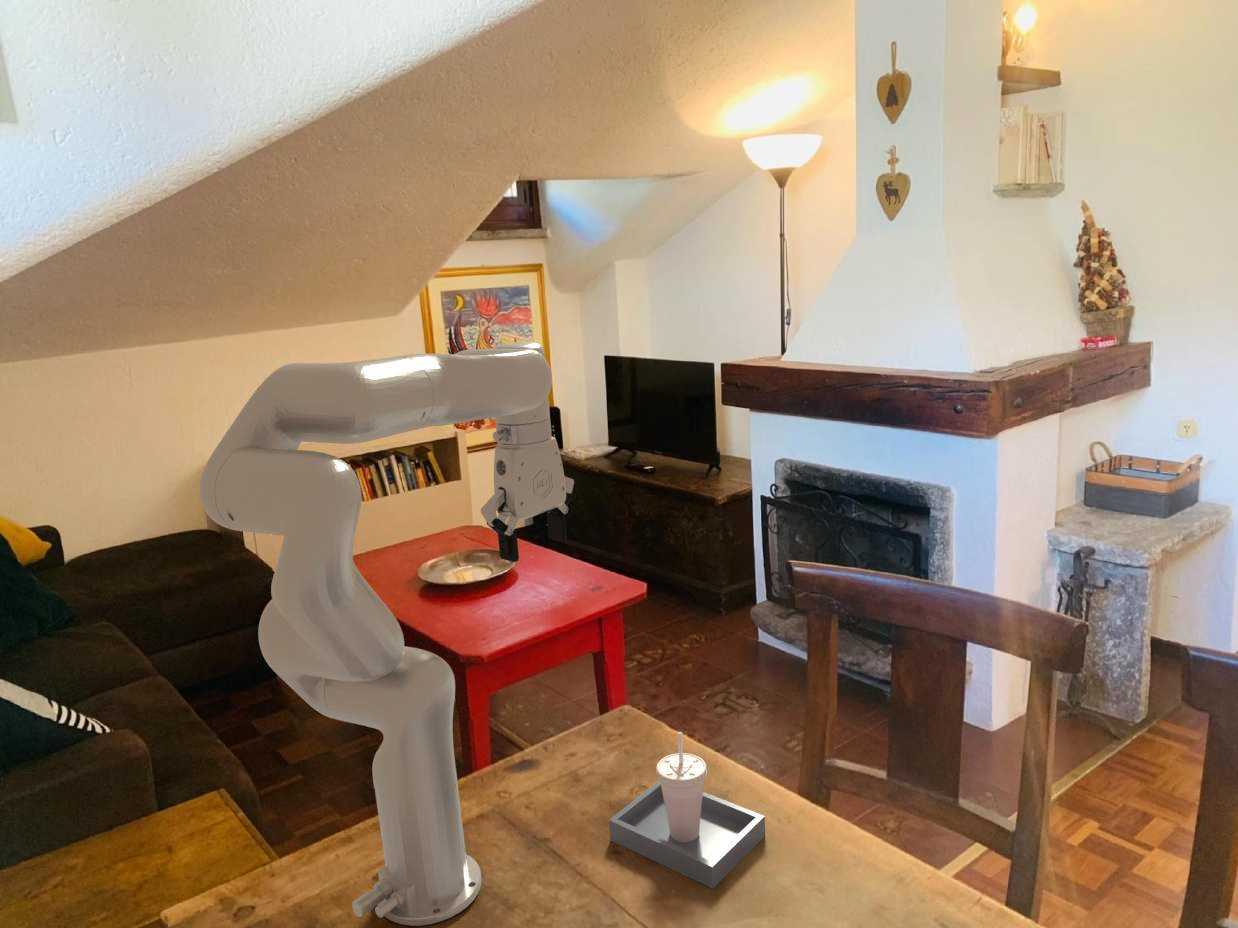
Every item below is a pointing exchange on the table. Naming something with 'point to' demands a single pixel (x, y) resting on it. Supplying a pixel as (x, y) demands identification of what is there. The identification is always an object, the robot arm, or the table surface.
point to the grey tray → (703, 859)
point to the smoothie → (682, 792)
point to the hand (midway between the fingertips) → (534, 549)
